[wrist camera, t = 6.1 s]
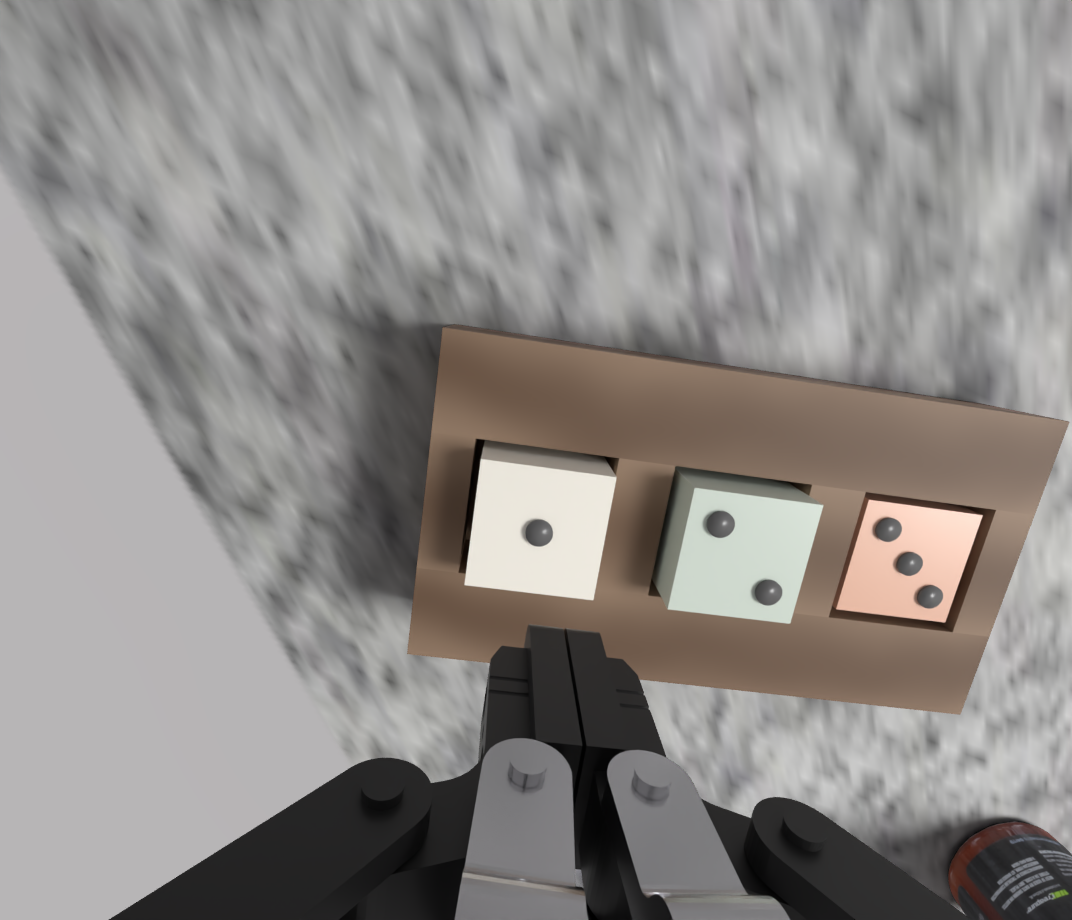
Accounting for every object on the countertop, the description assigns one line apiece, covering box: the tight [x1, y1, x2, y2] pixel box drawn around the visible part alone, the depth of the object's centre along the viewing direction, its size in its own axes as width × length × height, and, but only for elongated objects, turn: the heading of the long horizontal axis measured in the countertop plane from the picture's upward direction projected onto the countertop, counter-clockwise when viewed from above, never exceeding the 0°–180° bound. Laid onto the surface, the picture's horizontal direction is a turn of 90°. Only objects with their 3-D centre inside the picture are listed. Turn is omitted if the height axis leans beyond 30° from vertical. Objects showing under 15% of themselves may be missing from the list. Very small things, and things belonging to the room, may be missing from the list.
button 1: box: [464, 440, 617, 600], centre depth 21 cm, size 4×4×3 cm
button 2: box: [652, 466, 823, 624], centre depth 21 cm, size 4×4×3 cm
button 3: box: [832, 492, 983, 622], centre depth 23 cm, size 4×4×3 cm
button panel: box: [407, 324, 1069, 714], centre depth 23 cm, size 12×22×4 cm, turn 82°
